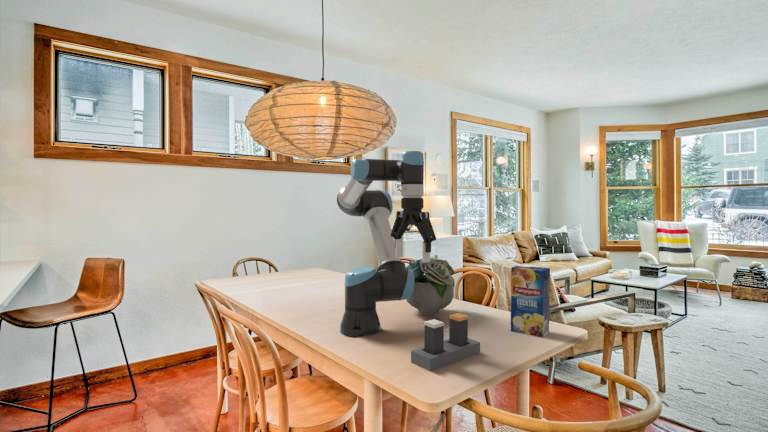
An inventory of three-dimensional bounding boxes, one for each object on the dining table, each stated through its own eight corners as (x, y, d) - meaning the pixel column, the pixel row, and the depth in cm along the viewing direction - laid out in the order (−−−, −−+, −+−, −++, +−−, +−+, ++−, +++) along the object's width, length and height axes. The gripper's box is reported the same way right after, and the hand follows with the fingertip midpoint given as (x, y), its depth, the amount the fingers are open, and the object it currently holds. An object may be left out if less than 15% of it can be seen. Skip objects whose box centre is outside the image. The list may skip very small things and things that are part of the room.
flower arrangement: (440, 325, 159) (440, 263, 158) (388, 314, 174) (389, 258, 173) (468, 311, 179) (468, 256, 178) (419, 303, 194) (420, 252, 193)
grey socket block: (411, 365, 120) (411, 350, 120) (460, 349, 134) (460, 335, 134) (430, 374, 114) (430, 358, 114) (480, 356, 128) (480, 342, 128)
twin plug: (424, 361, 121) (424, 321, 120) (433, 358, 123) (434, 319, 123) (433, 366, 118) (434, 325, 117) (443, 362, 120) (444, 322, 120)
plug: (449, 353, 128) (449, 315, 127) (457, 350, 130) (458, 313, 130) (458, 357, 125) (459, 318, 124) (467, 353, 127) (468, 315, 127)
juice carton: (549, 332, 151) (550, 268, 150) (543, 337, 145) (544, 270, 144) (517, 326, 158) (517, 265, 158) (510, 331, 153) (511, 267, 152)
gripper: (380, 197, 145) (380, 256, 146) (430, 196, 125) (430, 265, 126) (397, 197, 150) (396, 255, 150) (447, 197, 130) (446, 263, 131)
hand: (412, 259), depth 138 cm, fingers open, 13 cm apart
